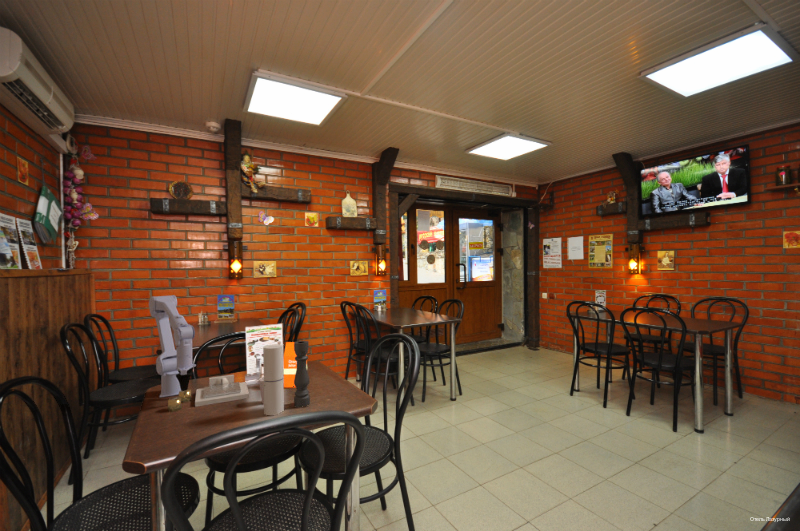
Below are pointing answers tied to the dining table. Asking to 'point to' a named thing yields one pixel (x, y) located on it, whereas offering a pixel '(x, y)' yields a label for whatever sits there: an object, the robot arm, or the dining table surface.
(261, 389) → the smoothie
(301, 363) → the candle holder
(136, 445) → the dining table surface
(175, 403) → the brass weight
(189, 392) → the brass weight
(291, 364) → the orange juice
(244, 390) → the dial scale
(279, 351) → the cylindrical container
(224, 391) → the scale pan
